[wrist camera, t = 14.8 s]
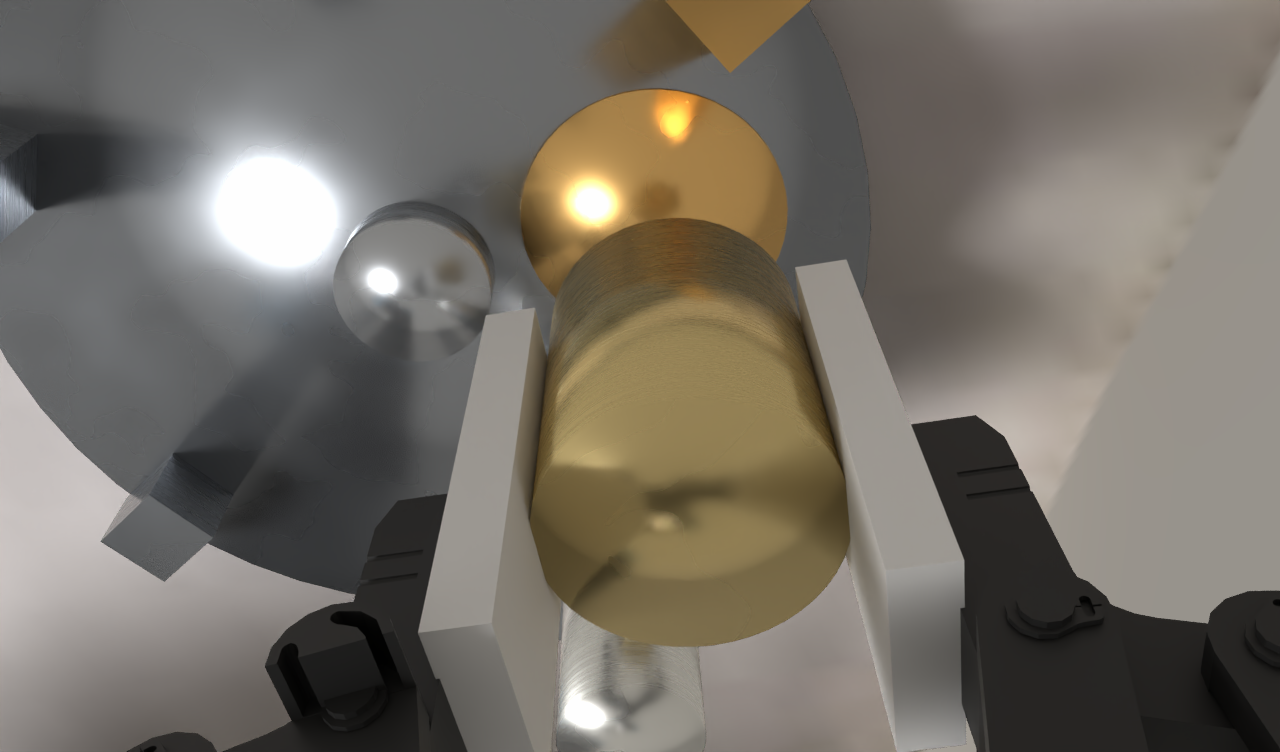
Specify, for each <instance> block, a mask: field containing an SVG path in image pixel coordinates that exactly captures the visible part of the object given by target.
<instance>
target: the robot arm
mask: <svg viewBox="0 0 1280 752" xmlns="http://www.w3.org/2000/svg"><path fill="white" fill-rule="evenodd" d="M795 271H796V281H797V291H798V301H799V311H800V321H801V325H802V329H803V333H804V336H805V340H806V343H807V347H808V350H809V354H810V357H811V361H812V364H813V368H814V371H815V375H816V379H817V382H818V386H819V389H820V393H821V396H822V400H823V403H824V407H825V410H826V414H827V417H828V421H829V424H830V428H831V432H832V435H833V439H834V442H835V446H836V449H837V453H838V456H839V460H840V463H841V467H842V470H843V474H844V478H845V481H846V491H847V503H848V515H849V527H850V543H849V546H848V549H847V552H846V558H847V562H848V565H849V569H850V573H851V577H852V581H853V585H854V589H855V593H856V596H857V600H858V604H859V608H860V612H861V616H862V620H863V623H864V627H865V631H866V635H867V639H868V643H869V647H870V651H871V654H872V658H873V662H874V666H875V670H876V674H877V678H878V682H879V685H880V689H881V693H882V697H883V701H884V705H885V709H886V713H887V716H888V720H889V724H890V728H891V732H892V736H893V740H894V744H895V747H896V751H897V752H910V751H919V750H927V749H935V748H944V747H952V746H960V745H966V718H967V721H968V724H969V727H970V730H971V733H972V736H973V739H974V742H975V745H976V748H977V752H1280V591H1248V592H1245V593H1242V594H1239V595H1236V596H1233V597H1230V598H1227V599H1225V600H1224V601H1223V602H1222V603H1221V604H1219V605H1218V606H1217V607H1216V608H1215V609H1214V610H1213V611H1212V612H1211V613H1210V618H1209V623H1208V624H1206V623H1197V622H1188V621H1180V620H1171V619H1161V618H1155V617H1150V616H1145V615H1139V614H1134V613H1132V612H1129V611H1126V610H1123V609H1121V608H1118V607H1115V606H1113V605H1111V604H1110V603H1109V601H1108V599H1107V597H1106V596H1105V595H1104V594H1103V593H1101V592H1100V591H1099V590H1098V589H1096V588H1095V587H1094V586H1093V585H1092V584H1090V583H1089V582H1088V581H1085V580H1083V579H1080V578H1078V577H1077V576H1076V574H1075V573H1074V572H1073V570H1072V568H1071V566H1070V565H1069V562H1068V560H1067V558H1066V556H1065V554H1064V552H1063V550H1062V548H1061V547H1060V545H1059V543H1058V541H1057V539H1056V537H1055V535H1054V533H1053V531H1052V529H1051V527H1050V525H1049V523H1048V521H1047V519H1046V517H1045V515H1044V513H1043V511H1042V509H1041V507H1040V505H1039V503H1038V501H1037V500H1036V498H1035V496H1034V494H1033V492H1031V491H1030V486H1029V484H1028V482H1027V480H1026V478H1025V476H1024V474H1023V472H1022V470H1021V469H1019V466H1018V462H1017V460H1016V458H1015V456H1014V454H1013V452H1012V451H1011V449H1010V447H1009V445H1008V443H1007V441H1006V439H1005V437H1004V436H1003V435H1001V434H1000V433H999V432H997V431H996V430H995V429H993V428H992V427H991V426H989V425H988V424H987V423H985V422H984V421H983V420H981V419H980V418H979V417H977V416H976V415H975V416H968V417H961V418H954V419H947V420H940V421H933V422H926V423H919V424H912V425H911V423H910V421H909V418H908V415H907V413H906V410H905V408H904V405H903V403H902V400H901V398H900V395H899V393H898V390H897V387H896V385H895V382H894V380H893V377H892V375H891V372H890V370H889V367H888V364H887V362H886V359H885V357H884V354H883V352H882V349H881V347H880V344H879V342H878V339H877V336H876V334H875V331H874V329H873V326H872V324H871V321H870V319H869V316H868V313H867V311H866V308H865V306H864V303H863V301H862V298H861V296H860V293H859V291H858V288H857V285H856V283H855V280H854V278H853V275H852V273H851V270H850V268H849V265H848V262H847V260H839V261H833V262H826V263H820V264H813V265H807V266H800V267H795ZM547 359H548V358H547V354H546V350H545V346H544V342H543V338H542V334H541V330H540V326H539V322H538V318H537V314H536V310H535V308H529V309H523V310H517V311H510V312H504V313H497V314H491V315H486V317H485V322H484V326H483V331H482V336H481V340H480V345H479V350H478V354H477V359H476V364H475V368H474V373H473V378H472V383H471V387H470V392H469V397H468V401H467V406H466V411H465V415H464V420H463V425H462V429H461V434H460V439H459V443H458V448H457V453H456V457H455V462H454V467H453V471H452V476H451V481H450V485H449V490H448V493H447V494H440V495H433V496H426V497H419V498H412V499H405V500H398V501H397V502H396V503H395V504H394V506H393V507H392V508H391V509H390V511H389V512H388V513H387V514H386V515H385V517H384V518H383V519H382V520H381V522H380V523H379V524H378V525H377V526H376V528H375V530H374V534H373V537H372V541H371V544H370V547H369V551H368V554H367V563H365V565H364V568H363V571H362V575H361V578H360V584H361V585H360V586H358V589H357V592H356V596H355V599H354V602H348V603H341V604H334V605H330V606H328V607H325V608H323V609H320V610H318V611H315V612H313V613H310V614H308V615H306V616H305V617H304V618H302V619H301V620H299V621H298V622H297V623H295V624H294V625H292V626H291V627H289V628H288V629H287V630H286V631H285V632H284V633H283V635H282V636H281V637H280V638H279V639H278V641H277V642H276V643H275V644H274V645H273V647H272V648H271V651H270V654H269V656H268V659H267V662H266V665H265V668H266V670H267V672H268V674H269V676H270V678H271V680H272V682H273V684H274V686H275V688H276V690H277V692H278V694H279V696H280V698H281V700H282V702H283V704H284V706H285V708H286V710H287V712H288V714H289V716H290V718H291V720H292V721H291V722H289V723H288V724H286V725H285V726H283V727H281V728H279V729H276V730H274V731H272V732H270V733H268V734H266V735H264V736H261V737H259V738H256V739H253V740H251V741H248V742H246V743H243V744H241V745H238V746H236V747H233V748H231V749H228V750H226V751H223V752H551V748H552V733H553V717H554V702H555V686H556V671H557V656H558V640H559V625H560V609H561V599H560V598H559V597H558V596H557V595H556V593H555V592H554V591H553V590H552V588H551V587H550V586H549V585H548V583H547V581H546V580H545V577H544V573H543V570H542V566H541V563H540V559H539V556H538V552H537V549H536V545H535V542H534V538H533V535H532V531H531V528H530V517H531V508H532V499H533V489H534V480H535V471H536V461H537V452H538V443H539V434H540V424H541V415H542V406H543V396H544V387H545V378H546V369H547ZM127 752H217V751H216V750H215V748H214V746H213V744H212V743H211V742H209V741H208V740H206V739H205V738H203V737H202V736H200V735H199V734H196V733H184V732H174V733H170V734H166V735H162V736H158V737H154V738H151V739H149V740H148V741H146V742H144V743H142V744H140V745H138V746H136V747H134V748H132V749H130V750H129V751H127Z"/></svg>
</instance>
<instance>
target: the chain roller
mask: <svg viewBox="0 0 1280 752" xmlns="http://www.w3.org/2000/svg"><path fill="white" fill-rule="evenodd" d="M530 528H531V531H532V535H533V538H534V542H535V545H536V549H537V552H538V556H539V559H540V563H541V566H542V570H543V573H544V577H545V580H546V581H547V583H548V585H549V586H550V587H551V588H552V590H553V591H554V592H555V593H556V595H557V596H558V597H559V598H560V599H561V600H562V601H563V602H564V603H565V604H566V605H567V606H568V607H569V608H570V609H572V610H573V611H574V612H576V613H577V614H578V615H580V616H581V617H583V618H584V619H585V620H587V621H589V622H591V623H592V624H594V625H596V626H598V627H600V628H601V629H604V630H606V631H608V632H611V633H613V634H616V635H618V636H621V637H624V638H628V639H631V640H634V641H638V642H643V643H648V644H653V645H662V646H671V647H698V646H710V645H717V644H722V643H728V642H733V641H737V640H740V639H744V638H747V637H751V636H753V635H756V634H758V633H761V632H764V631H766V630H769V629H771V628H773V627H775V626H777V625H778V624H780V623H782V622H784V621H786V620H788V619H789V618H791V617H792V616H794V615H795V614H797V613H798V612H800V611H801V610H802V609H804V608H805V607H806V606H807V605H808V604H810V603H811V602H812V601H813V600H814V599H815V598H816V597H817V596H818V595H819V594H820V593H821V592H822V591H823V590H824V589H825V588H826V587H827V585H828V584H829V583H830V581H831V580H832V578H833V577H834V576H835V574H836V573H837V571H838V569H839V567H840V565H841V563H842V561H843V560H844V558H845V555H846V552H847V549H848V546H849V543H850V527H849V515H848V503H847V491H846V481H845V478H844V474H843V470H842V467H841V463H840V460H839V456H838V453H837V449H836V446H835V442H834V439H833V435H832V432H831V428H830V424H829V421H828V417H827V414H826V410H825V407H824V403H823V400H822V396H821V393H820V389H819V386H818V382H817V379H816V375H815V371H814V368H813V364H812V361H811V357H810V354H809V350H808V347H807V343H806V340H805V336H804V333H803V329H802V325H801V321H800V316H799V313H798V309H797V306H796V302H795V299H794V296H793V293H792V290H791V287H790V284H789V283H788V281H787V279H786V277H785V275H784V273H783V271H782V270H781V269H780V267H779V266H778V264H777V263H776V262H775V260H774V259H773V258H772V257H771V256H770V255H769V254H768V253H767V252H766V251H765V250H764V249H763V248H762V247H760V246H759V245H758V244H756V243H755V242H754V241H753V240H751V239H750V238H748V237H746V236H744V235H743V234H741V233H739V232H737V231H735V230H733V229H730V228H728V227H726V226H723V225H720V224H717V223H713V222H709V221H705V220H698V219H691V218H665V219H655V220H651V221H646V222H642V223H638V224H635V225H632V226H629V227H626V228H624V229H621V230H619V231H617V232H615V233H613V234H611V235H609V236H607V237H606V238H604V239H603V240H601V241H600V242H598V243H597V244H596V245H594V246H593V247H592V248H591V249H589V250H588V251H587V252H586V253H585V254H584V255H583V256H582V257H581V258H580V259H579V260H578V261H577V262H576V264H575V265H574V266H573V267H572V268H571V270H570V271H569V273H568V275H567V276H566V278H565V279H564V281H563V283H562V285H561V287H560V290H559V292H558V294H557V297H556V301H555V304H554V308H553V315H552V322H551V331H550V341H549V350H548V359H547V369H546V378H545V387H544V396H543V406H542V415H541V424H540V434H539V443H538V452H537V461H536V471H535V480H534V489H533V499H532V508H531V517H530Z"/></svg>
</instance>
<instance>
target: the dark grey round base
mask: <svg viewBox="0 0 1280 752" xmlns="http://www.w3.org/2000/svg"><path fill="white" fill-rule="evenodd" d="M810 1H811V0H0V349H1V350H2V352H3V354H4V356H5V358H6V360H7V361H8V363H9V364H10V366H11V367H12V369H13V370H14V371H15V373H16V374H17V376H18V377H19V378H20V380H21V381H22V383H23V384H24V385H25V387H26V388H27V390H28V391H29V392H30V394H31V395H32V397H33V398H34V399H35V401H36V402H37V404H38V405H39V406H40V408H41V409H42V410H43V411H44V412H45V413H46V414H47V416H48V417H49V418H50V419H51V420H52V421H53V422H54V423H55V424H56V426H57V427H58V428H59V429H60V430H61V431H62V432H63V433H64V434H65V436H66V437H67V438H68V439H69V440H70V441H71V442H72V443H73V444H74V446H75V447H76V448H77V449H78V450H79V451H81V452H82V453H83V454H84V455H85V456H86V457H87V458H88V459H90V460H91V461H92V462H93V463H94V464H95V465H96V466H97V467H98V468H100V469H101V470H102V471H103V472H104V473H105V474H106V475H107V476H108V477H110V478H111V479H112V480H113V481H114V482H115V483H116V484H117V485H119V486H120V487H122V488H123V489H124V490H126V491H127V492H128V493H130V495H129V496H128V497H127V499H126V500H125V502H124V504H123V505H122V507H121V509H120V510H119V512H118V513H117V515H116V517H115V518H114V520H113V522H112V523H111V525H110V527H109V528H108V530H107V532H106V533H105V535H104V537H103V538H102V540H101V542H102V543H104V544H105V545H107V546H108V547H110V548H112V549H113V550H115V551H116V552H118V553H120V554H121V555H123V556H124V557H126V558H128V559H129V560H131V561H132V562H134V563H135V564H137V565H139V566H140V567H142V568H143V569H145V570H147V571H148V572H150V573H151V574H153V575H155V576H156V577H158V578H159V579H161V580H163V581H164V582H165V581H166V580H167V579H168V578H169V577H170V576H171V575H172V574H173V573H175V572H176V571H177V570H178V569H179V568H180V567H181V566H182V565H183V564H185V563H186V562H187V561H188V560H189V559H190V558H191V557H192V556H193V555H195V554H196V553H197V552H198V551H199V550H200V549H201V548H202V547H203V546H205V545H206V544H207V543H208V544H210V545H213V546H215V547H217V548H219V549H221V550H223V551H225V552H228V553H230V554H232V555H234V556H236V557H238V558H240V559H243V560H245V561H247V562H249V563H251V564H254V565H257V566H259V567H262V568H265V569H268V570H271V571H274V572H276V573H279V574H282V575H285V576H288V577H290V578H293V579H296V580H299V581H302V582H306V583H310V584H314V585H318V586H322V587H326V588H330V589H334V590H338V591H342V592H346V593H351V594H356V592H357V589H358V586H360V585H361V584H360V578H361V575H362V571H363V568H364V565H365V563H367V554H368V551H369V547H370V544H371V541H372V537H373V534H374V530H375V528H376V526H377V525H378V524H379V523H380V522H381V520H382V519H383V518H384V517H385V515H386V514H387V513H388V512H389V511H390V509H391V508H392V507H393V506H394V504H395V503H396V502H397V501H398V500H405V499H412V498H419V497H426V496H433V495H440V494H447V493H448V490H449V485H450V481H451V476H452V471H453V467H454V462H455V457H456V453H457V448H458V443H459V439H460V434H461V429H462V425H463V420H464V415H465V411H466V406H467V401H468V397H469V392H470V387H471V383H472V378H473V373H474V368H475V364H476V359H477V354H478V350H479V345H480V340H481V336H482V331H483V326H484V322H485V317H486V315H491V314H497V313H504V312H510V311H517V310H523V309H529V308H535V310H536V314H537V318H538V322H539V326H540V330H541V334H542V338H543V342H544V346H545V350H546V354H547V358H548V350H549V341H550V331H551V322H552V315H553V308H554V304H555V301H556V297H557V294H558V292H559V290H560V287H561V285H562V283H563V281H564V279H565V278H566V276H567V275H568V273H569V271H570V270H571V268H572V267H573V266H574V265H575V264H576V262H577V261H578V260H579V259H580V258H581V257H582V256H583V255H584V254H585V253H586V252H587V251H588V250H589V249H591V248H592V247H593V246H594V245H596V244H597V243H598V242H600V241H601V240H603V239H604V238H606V237H607V236H609V235H611V234H613V233H615V232H617V231H619V230H621V229H624V228H626V227H629V226H632V225H635V224H638V223H642V222H646V221H651V220H655V219H665V218H691V219H698V220H705V221H709V222H713V223H717V224H720V225H723V226H726V227H728V228H730V229H733V230H735V231H737V232H739V233H741V234H743V235H744V236H746V237H748V238H750V239H751V240H753V241H754V242H755V243H756V244H758V245H759V246H760V247H762V248H763V249H764V250H765V251H766V252H767V253H768V254H769V255H770V256H771V257H772V258H773V259H774V260H775V262H776V263H777V264H778V266H779V267H780V269H781V270H782V271H783V273H784V275H785V277H786V279H787V281H788V283H789V284H790V287H791V290H792V293H793V296H794V299H795V302H796V306H797V309H798V313H799V316H800V311H799V301H798V291H797V281H796V271H795V267H800V266H807V265H813V264H820V263H826V262H833V261H839V260H847V262H848V265H849V268H850V270H851V273H852V275H853V278H854V280H855V283H856V285H857V288H858V291H859V293H860V296H861V298H862V296H863V292H864V288H865V283H866V276H867V265H868V253H869V242H870V231H871V223H870V205H869V186H868V171H867V166H866V161H865V156H864V151H863V146H862V141H861V136H860V131H859V126H858V121H857V116H856V113H855V110H854V107H853V104H852V102H851V99H850V96H849V93H848V90H847V87H846V85H845V82H844V79H843V76H842V73H841V70H840V68H839V65H838V62H837V59H836V57H835V55H834V53H833V51H832V49H831V47H830V45H829V43H828V41H827V39H826V37H825V36H824V34H823V32H822V30H821V28H820V26H819V24H818V22H817V20H816V18H815V16H814V14H813V13H812V11H811V9H810V7H809V5H808V3H809V2H810ZM559 640H561V656H560V675H559V693H558V712H557V730H556V744H557V748H558V752H703V750H704V747H705V743H706V728H705V717H704V706H703V694H702V683H701V672H700V661H699V650H698V647H671V646H662V645H653V644H648V643H643V642H638V641H634V640H631V639H628V638H624V637H621V636H618V635H616V634H613V633H611V632H608V631H606V630H604V629H601V628H600V627H598V626H596V625H594V624H592V623H591V622H589V621H587V620H585V619H584V618H583V617H581V616H580V615H578V614H577V613H576V612H574V611H573V610H572V609H570V608H569V607H568V606H567V605H566V604H565V603H564V602H563V601H562V600H561V609H560V625H559Z"/></svg>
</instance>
